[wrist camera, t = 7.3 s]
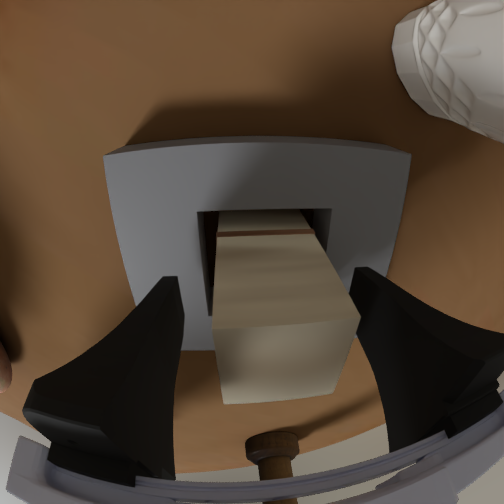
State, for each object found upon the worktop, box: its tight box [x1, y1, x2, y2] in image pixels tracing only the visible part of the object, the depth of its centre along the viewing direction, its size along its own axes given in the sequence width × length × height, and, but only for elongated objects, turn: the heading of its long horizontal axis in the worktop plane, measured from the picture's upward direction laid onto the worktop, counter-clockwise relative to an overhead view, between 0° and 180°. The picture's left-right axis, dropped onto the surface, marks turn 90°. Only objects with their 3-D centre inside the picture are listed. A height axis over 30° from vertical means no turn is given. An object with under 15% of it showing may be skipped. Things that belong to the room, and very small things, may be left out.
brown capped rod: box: [245, 432, 299, 504], centre depth 21 cm, size 7×6×18 cm
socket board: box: [103, 136, 412, 350], centre depth 14 cm, size 11×13×2 cm
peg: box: [212, 209, 361, 404], centre depth 11 cm, size 4×4×8 cm
